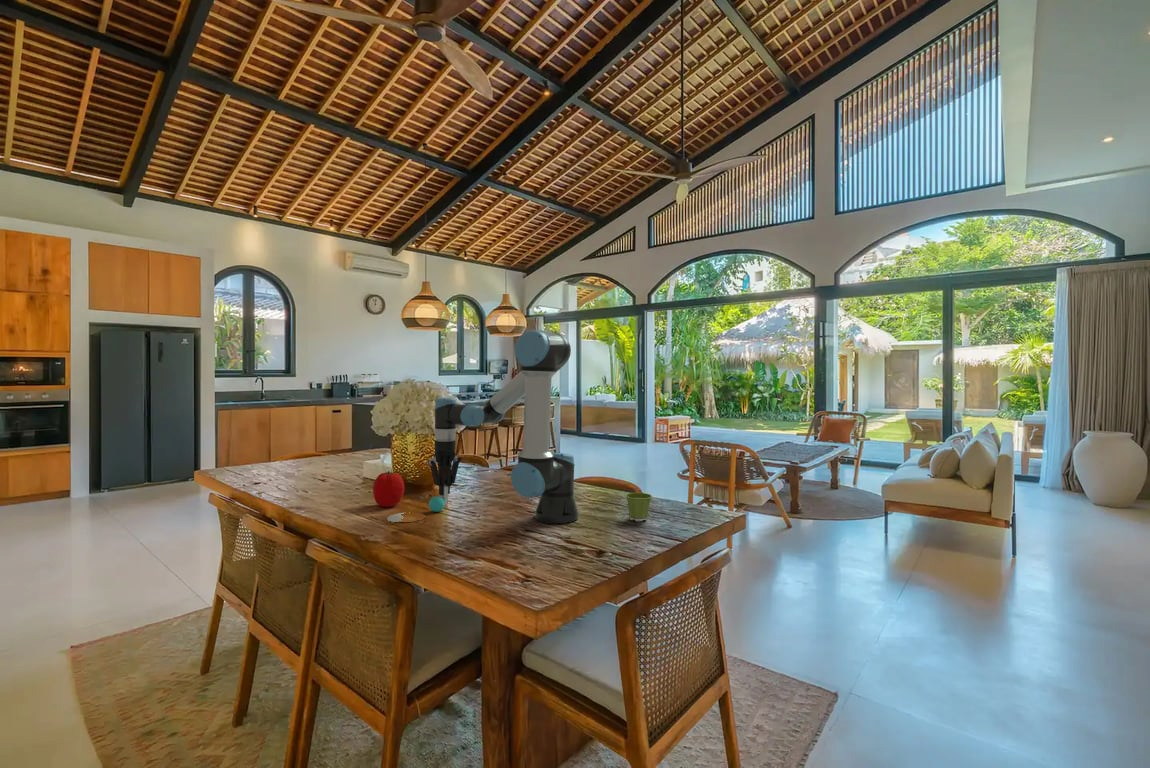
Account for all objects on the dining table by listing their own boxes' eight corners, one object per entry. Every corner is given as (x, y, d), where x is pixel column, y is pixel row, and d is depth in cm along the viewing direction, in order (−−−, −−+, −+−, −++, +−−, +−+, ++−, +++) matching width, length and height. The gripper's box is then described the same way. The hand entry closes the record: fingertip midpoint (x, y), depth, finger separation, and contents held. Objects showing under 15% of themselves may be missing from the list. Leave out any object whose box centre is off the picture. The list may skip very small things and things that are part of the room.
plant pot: (624, 523, 182) (624, 497, 182) (625, 515, 192) (625, 491, 191) (652, 524, 181) (652, 499, 181) (651, 517, 191) (651, 492, 190)
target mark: (433, 514, 189) (433, 513, 189) (413, 524, 177) (413, 523, 177) (400, 511, 192) (400, 511, 192) (379, 521, 180) (379, 520, 180)
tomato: (364, 508, 197) (364, 472, 196) (388, 501, 208) (388, 467, 208) (389, 511, 192) (389, 475, 192) (411, 504, 203) (412, 469, 203)
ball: (449, 504, 196) (442, 492, 194) (443, 513, 191) (437, 501, 189) (436, 506, 197) (430, 494, 195) (430, 516, 192) (423, 504, 191)
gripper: (454, 437, 203) (453, 498, 203) (423, 440, 193) (423, 504, 194) (465, 439, 197) (464, 502, 198) (434, 442, 188) (433, 508, 189)
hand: (444, 503), depth 196 cm, fingers closed
